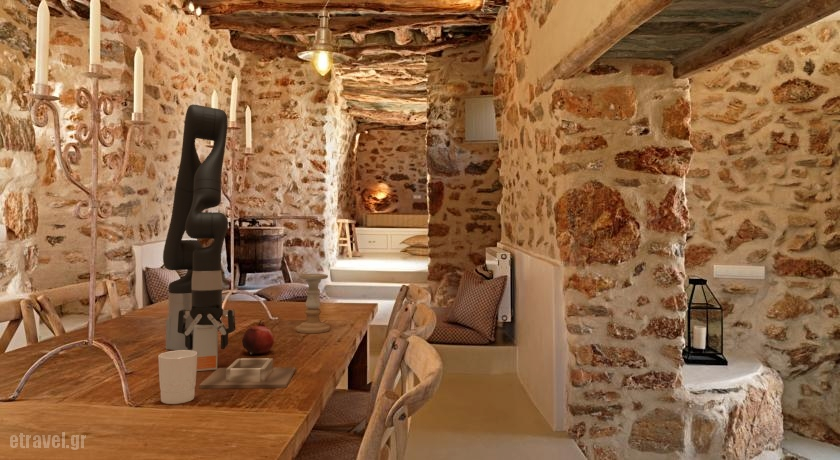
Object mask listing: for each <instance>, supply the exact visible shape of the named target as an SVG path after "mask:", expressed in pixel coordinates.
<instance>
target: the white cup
mask: <svg viewBox="0 0 840 460" xmlns="http://www.w3.org/2000/svg"><path fill="white" fill-rule="evenodd" d="M197 354H198V353H197V352H196V351H192V349H191V350H170V351H169V350H168V351H165V352H161V353H160V354H158V355H157V356H158V358H157V359H158V374H159V375H158V377H159V378H158V379H159V389H160V402H161V403H163V404H167V405H179V404H185V403H188V402H191V401H192V400H194V399H195V391H196V390H195V389H196V385H197V384H196V382H197V381H196V380H197V372H198V371H197Z"/></svg>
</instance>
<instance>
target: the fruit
mask: <svg viewBox="0 0 840 460" xmlns="http://www.w3.org/2000/svg"><path fill="white" fill-rule="evenodd" d="M241 343H242V347H243V348H244V349H245V350H246V351H248V352H249V354H250V356H253V355H258V354H260V355H261V354H264V355H265V354H267V353H268V352H270V350H271V349H272V348H273V346H274V343H275V337H274V335H273V332H272V330H271V329H269V328H267V326H266V324H265V321H262V320H259V323H258V324H256V325H253V326H250V327H248V328H247V329H246V330H245V332H244V334H243V337H242V338H241Z"/></svg>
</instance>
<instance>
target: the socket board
mask: <svg viewBox="0 0 840 460" xmlns="http://www.w3.org/2000/svg"><path fill="white" fill-rule="evenodd" d="M296 368H297V367H295V366H292V367H290V366H289V367H285V366H283V367H276V366H275V367H274V358H271V357H270V358H266V357H265V358H263V357H262V358H258V357H257V358H254V357H253V358H249V357H248V358H246V357H245V358H237V359H236V360H234V361H233V362H232V363H231V364H230V365H229V366H227V367H217V369H216V370H214V371H213V372H211V374H210V375H209V376H207V377H206V378H205V379H204V380H203V381H202V382H201V383H200V384H198V389H199V390H200V389H203V390H204V389H207V390H208V389H214V390H215V389H286V388H287V387H288V385H289V383H290V381H291V380H292V377H293V376H294V374H295V372H296V371H297V369H296Z"/></svg>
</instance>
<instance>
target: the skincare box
mask: <svg viewBox="0 0 840 460" xmlns="http://www.w3.org/2000/svg"><path fill="white" fill-rule="evenodd" d="M218 348H219V330H218V329H217V328H216V327H215V326H214V325H194V329H193V343H192V349H191V350H192V351H196V352H197V353H198V354H197V372H202V371H203V372H204V371H213V370H214V371H215V370H216V369H218V358H219V357H218Z"/></svg>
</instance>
